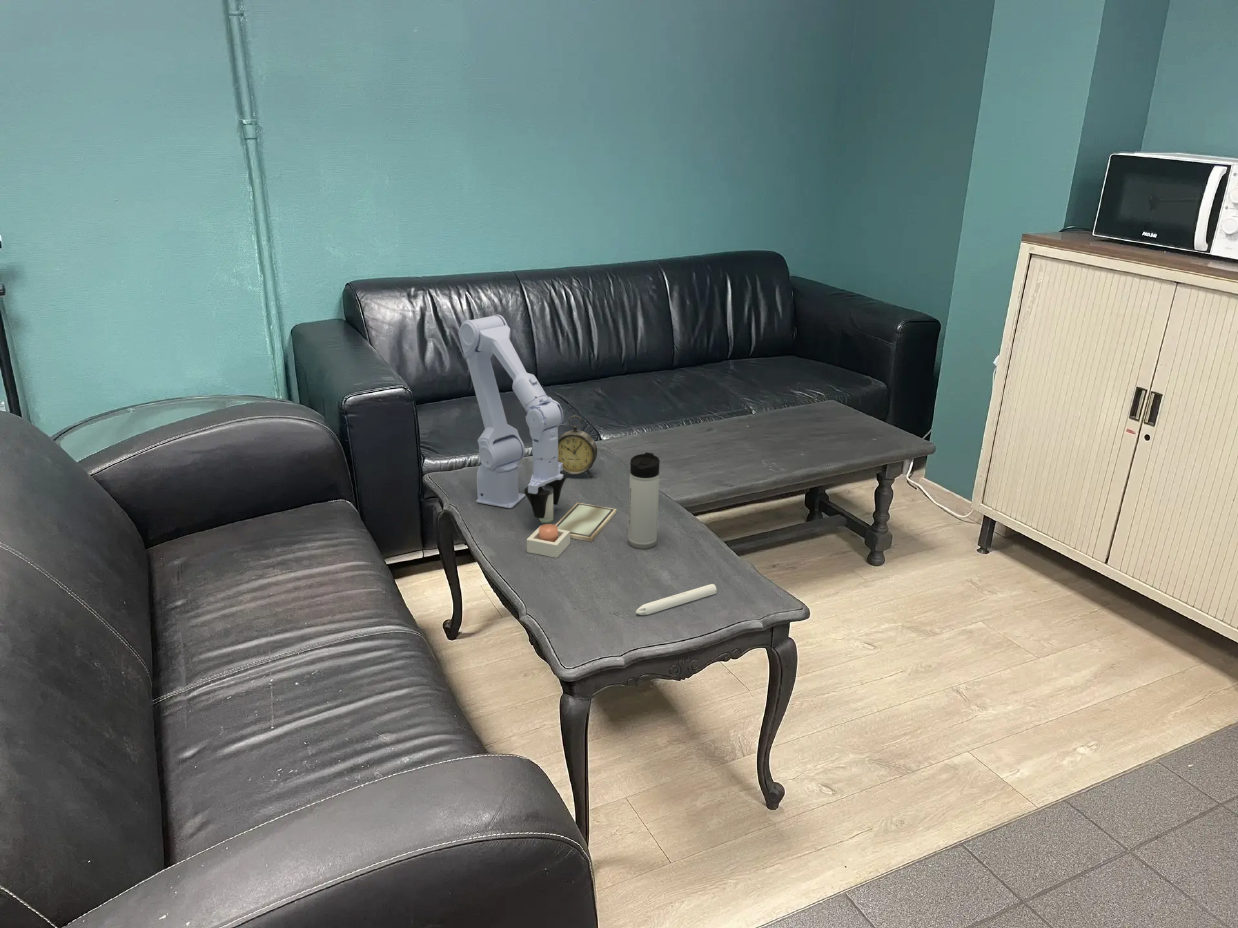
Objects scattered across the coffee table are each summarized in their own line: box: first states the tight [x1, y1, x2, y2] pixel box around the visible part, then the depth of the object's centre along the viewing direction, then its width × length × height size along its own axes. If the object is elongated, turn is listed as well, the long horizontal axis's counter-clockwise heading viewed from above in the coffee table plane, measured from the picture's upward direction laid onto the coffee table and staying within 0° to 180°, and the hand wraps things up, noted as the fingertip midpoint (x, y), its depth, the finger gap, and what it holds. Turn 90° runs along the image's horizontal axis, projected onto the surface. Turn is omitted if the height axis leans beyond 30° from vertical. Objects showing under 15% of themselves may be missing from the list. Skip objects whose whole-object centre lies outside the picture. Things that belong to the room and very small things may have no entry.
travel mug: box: [627, 452, 661, 550], centre depth 184 cm, size 6×7×20 cm
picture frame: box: [555, 502, 618, 542], centre depth 195 cm, size 10×16×1 cm, turn 160°
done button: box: [538, 523, 558, 542], centre depth 183 cm, size 4×4×3 cm
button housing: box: [526, 527, 571, 559], centre depth 184 cm, size 7×7×3 cm
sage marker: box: [538, 485, 554, 524], centre depth 195 cm, size 3×3×8 cm
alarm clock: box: [558, 415, 598, 478], centre depth 218 cm, size 11×5×16 cm, turn 81°
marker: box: [635, 583, 718, 616], centre depth 164 cm, size 18×2×2 cm, turn 120°
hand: (546, 510), depth 196 cm, fingers open, 7 cm apart
